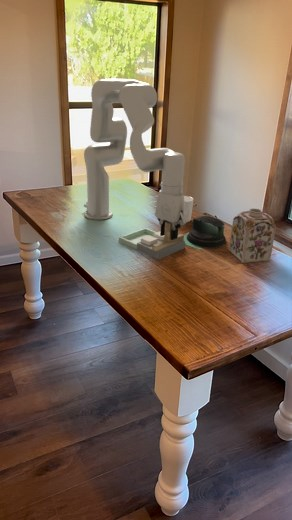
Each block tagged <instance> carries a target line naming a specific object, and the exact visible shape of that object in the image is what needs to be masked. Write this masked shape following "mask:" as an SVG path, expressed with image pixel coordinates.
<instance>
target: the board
mask: <svg viewBox="0 0 292 520" xmlns="http://www.w3.org/2000/svg"><path fill="white" fill-rule="evenodd" d="M161 241H164V240H159V239H158V242H157V243H159V242H161ZM155 244H156V243H155ZM152 245H154V244H152ZM152 245H147V244H145V243H142V242H138V243H137V250H136V251H137V252H140V253H143V254H145V255H146V256H149V257H150V258H151V257H152V258H153V259H156V260H162V259H163V258H166V257H169V256H170V255H173V254H174V253H177V252H179V251H182V250H184V249H185V248H186V244H185V241H184V240H182V241H180V242H177V243H175V244H172V245H170V246H167V247H165V248H163V249H160V250H158V251H153V250H152Z"/></svg>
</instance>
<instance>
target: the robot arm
mask: <svg viewBox="0 0 292 520" xmlns="http://www.w3.org/2000/svg"><path fill="white" fill-rule="evenodd" d="M90 95H91V104H92V111H91V116H90V117H91V118H90V129H89V134H90V135H89V136H90V138H91V141H93V142H94V143H95V144H91V145H88V146H86V147H85V149H84V152H83V158H84V159H83V160H84V163H85V169H86V190H87V191H86V192H87V194H86V195H87V196H86V197H87V201H86V202H85V204H83V207H84V208H86V211H84V217H85V218H87V219H89V220H95V221H99V220H100V221H102V220H108V219H110V218H111V217H113V212H112V211H111V210H110V183H109V182H110V177H109V174H108V172H107V171H106V169H105V167H108V166H110V167H111V166H115V165H119V164H121V163H122V162H123V160H124V157H125V156H124V155H125V150H126V144H127V137H128V127H127V124H126V122H125V120H124V119H122V118H119V117H114V113H115V111H114V106H113V104H121V106H122V108H123V111H124V113H125V115H126V117H127V119H128V122H129V124H130V126H131V129H132V131H131V133H130V138H129V148H130V149H129V150H130V153H131V156H132V158H133V160H134V163H135V164H136V166H137V168H138V169H139V170H140V171H142V172H144V173H151V172H155V171H161V182H160V183H159V186H160V187H161V188H160V190H159V191H158V194H157V200H156V205H155V206H156V207H155V212H154V215H155V217H156V218H157V220H158V223H159V226H160V231H161V232H160V236H163V235H164V233H165V222H167V221H168V222H171V223H172V227H173V229H172V230H171V240H174V239H177V237H178V235H179V229H180V228H182V227H183V226H185V225H187V222H186V221H185V218H184V196H185V195H184V193H183V190H184V188H183V187H184V177H185V176H184V175H185V163H186V161H185V160H186V157H185V155H184V154H183V153H182V152H177V151H174V150H173V149H170V148H168V147H160V148H150V149H147V148H146V146H145V143H144V141H143V137H142V135H143V134H144V133H146V132H147V131H148V130H150V129H151V128H152V127H153V125H155V118H154V116H153V113H152V111H151V109H150V108H153V107H155V105H156V104H157V102H158V94H157V91H156V89H155V88H154V86H152V84H150V83H148V82H143V81H140V80H136V79H132V78H128V79H127V78H103V79H98V80H97V81H94V83H93V84H92V87H91V93H90ZM179 220H180V221H181V222H179Z"/></svg>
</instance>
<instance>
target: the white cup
mask: <svg viewBox="0 0 292 520" xmlns="http://www.w3.org/2000/svg"><path fill="white" fill-rule="evenodd" d="M194 200H195V199H194V198H193V197H191V196H188V195H184V218H185V221H186V223H189V222H190V221H191V220H192V219H191V218H192V214H193V212H192V211H193V208H194V207H193V206H194ZM179 222H181V221H180V220H179Z"/></svg>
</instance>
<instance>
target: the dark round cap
mask: <svg viewBox="0 0 292 520" xmlns="http://www.w3.org/2000/svg"><path fill="white" fill-rule="evenodd" d="M224 230H225V223H224V221H223V220H221V219H219V218H218V217H213V216H210V215H200V216H195V217H193V219H192V225H191V229H190V231H188V232H187V233H184V234H183V235H184V241H185V246H189V247H191V248H193V249H197V250H203V249H217V248H220V247H223V246H224V245H226V242H227V241H226V240H227V239H226V236H225V233H224Z"/></svg>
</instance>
